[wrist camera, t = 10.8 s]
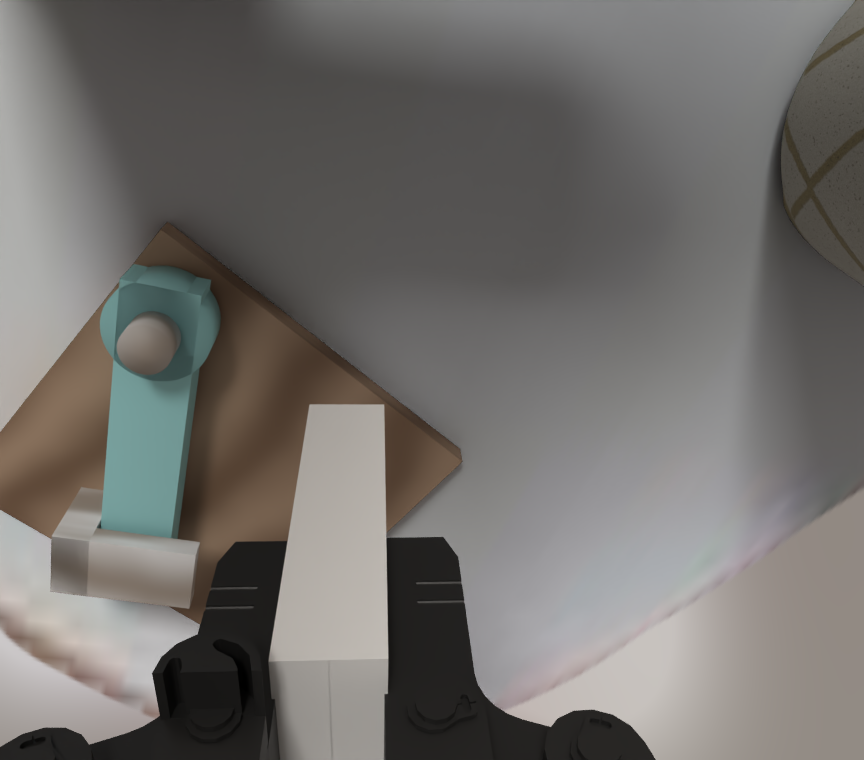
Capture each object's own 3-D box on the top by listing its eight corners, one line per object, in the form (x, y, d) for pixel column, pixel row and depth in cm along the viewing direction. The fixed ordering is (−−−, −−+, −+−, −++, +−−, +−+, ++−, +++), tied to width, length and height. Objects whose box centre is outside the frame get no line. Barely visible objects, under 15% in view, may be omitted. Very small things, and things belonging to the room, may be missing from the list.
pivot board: (-30, 471, 47) (-90, 540, 41) (167, 221, 41) (131, 259, 35) (257, 640, 55) (243, 719, 49) (460, 448, 49) (472, 512, 43)
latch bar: (118, 255, 40) (103, 270, 38) (226, 277, 41) (218, 293, 39) (96, 552, 48) (82, 579, 46) (186, 565, 49) (177, 592, 47)
